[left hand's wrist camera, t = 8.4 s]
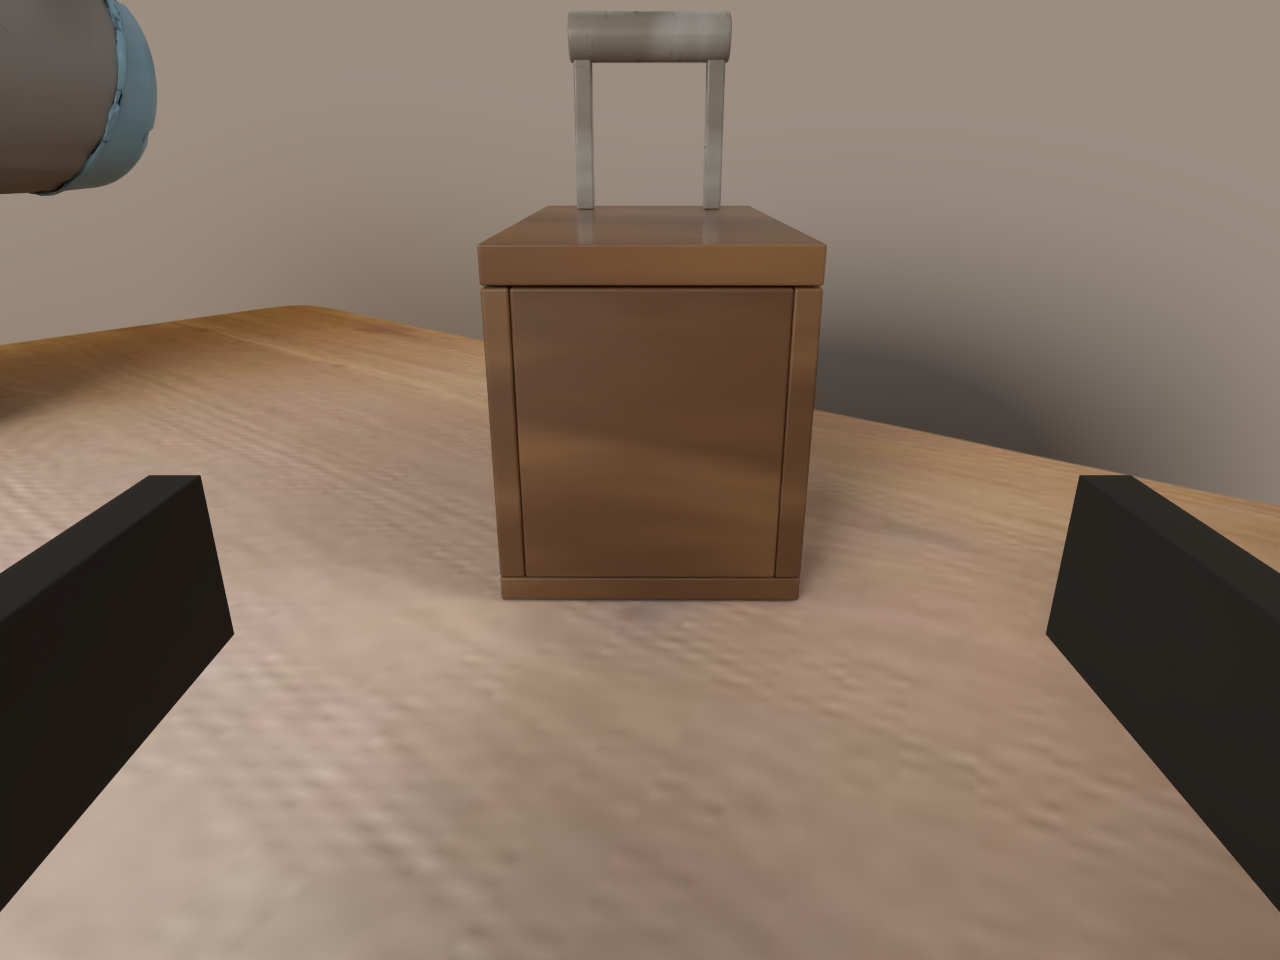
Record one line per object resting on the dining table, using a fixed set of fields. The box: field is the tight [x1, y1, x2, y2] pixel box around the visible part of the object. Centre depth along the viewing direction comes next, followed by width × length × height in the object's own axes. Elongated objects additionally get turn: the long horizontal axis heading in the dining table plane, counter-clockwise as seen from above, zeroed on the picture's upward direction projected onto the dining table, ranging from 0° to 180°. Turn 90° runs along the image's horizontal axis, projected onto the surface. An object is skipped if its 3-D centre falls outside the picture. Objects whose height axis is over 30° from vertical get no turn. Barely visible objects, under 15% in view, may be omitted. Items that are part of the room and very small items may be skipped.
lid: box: [477, 11, 827, 286], centre depth 28 cm, size 17×9×8 cm, turn 0°
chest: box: [481, 286, 823, 600], centre depth 31 cm, size 16×9×10 cm, turn 0°
